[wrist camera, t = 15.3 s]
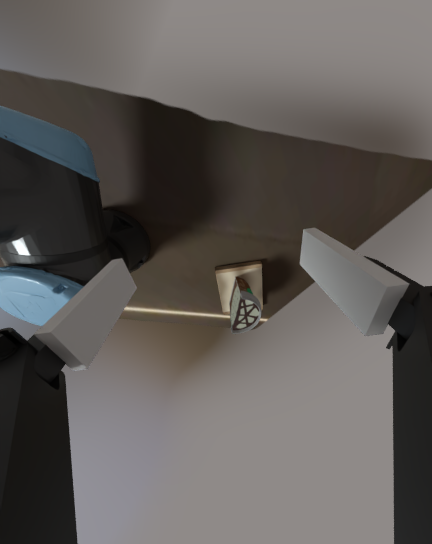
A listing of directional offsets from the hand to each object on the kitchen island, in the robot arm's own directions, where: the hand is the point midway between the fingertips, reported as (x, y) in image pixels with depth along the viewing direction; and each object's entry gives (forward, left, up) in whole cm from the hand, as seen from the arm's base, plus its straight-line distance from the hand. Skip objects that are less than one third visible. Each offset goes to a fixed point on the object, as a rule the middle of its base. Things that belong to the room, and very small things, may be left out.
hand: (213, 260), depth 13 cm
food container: (+4, -25, -27) cm, 37 cm away
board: (+4, -25, -29) cm, 38 cm away
